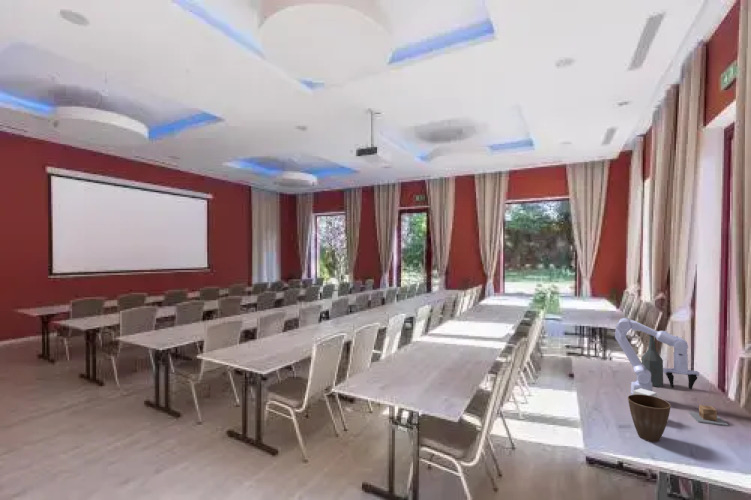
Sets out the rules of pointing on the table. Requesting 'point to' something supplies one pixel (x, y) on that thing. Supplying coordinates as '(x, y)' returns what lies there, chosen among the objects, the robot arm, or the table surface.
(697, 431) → the table surface
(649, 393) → the supplement box
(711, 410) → the walnut block
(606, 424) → the table surface
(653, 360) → the bottle
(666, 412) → the plant pot
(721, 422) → the slate mat
